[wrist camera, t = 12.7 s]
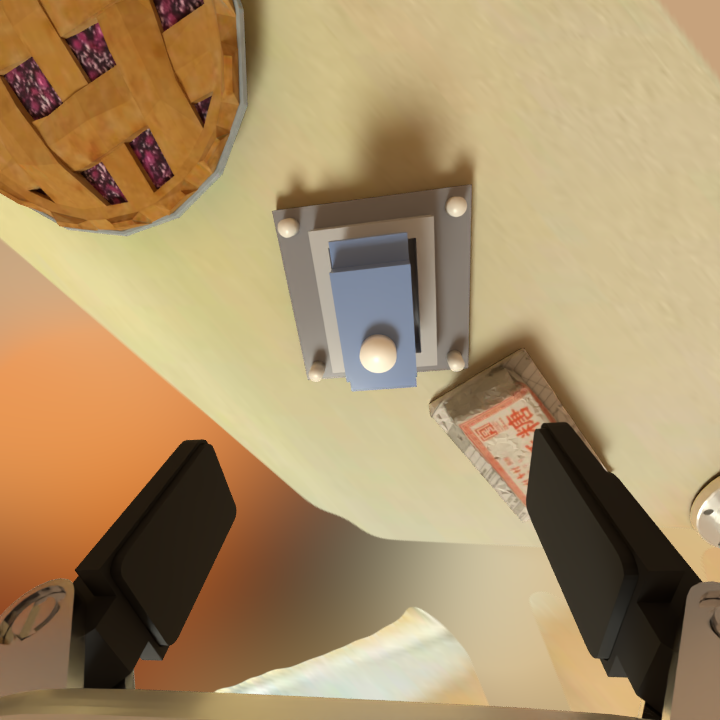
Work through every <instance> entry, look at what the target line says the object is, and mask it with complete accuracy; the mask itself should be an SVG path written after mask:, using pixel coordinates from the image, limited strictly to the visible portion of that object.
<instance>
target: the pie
mask: <svg viewBox="0 0 720 720" xmlns="http://www.w3.org/2000/svg"><path fill="white" fill-rule="evenodd" d="M247 106H248V103H247V79H246V55H245V31H244V9H243V6H242V3H241V0H0V193H1V194H3V195H4V196H6V197H8V198H10V199H11V200H13V201H15V202H16V203H18V204H21V205H24V206H26V207H29V208H31V209H33V210H34V211H36V212H38V213H40V214H41V215H43V216H45V217H47V218H48V219H50V220H52V221H54V222H55V223H57V224H58V225H59V226H62V227H64V228H66V229H68V230H75V231H84V232H93V233H102V234H111V235H120V236H128V235H131V234H134V233H137V232H140V231H143V230H145V229H148V228H151V227H154V226H157V225H159V224H162V223H165V222H168V221H171V220H174V219H176V218H179V217H180V216H181V215H182V214H183V213H184V212H185V211H186V210H187V209H188V208H189V207H190V206H191V205H192V204H193V203H194V202H195V201H196V200H197V199H198V198H199V197H200V196H201V195H202V194H203V193H204V192H205V191H206V190H207V189H208V188H209V187H210V186H211V185H212V184H213V183H214V182H215V181H216V180H217V179H218V178H219V177H220V176H221V175H222V174H223V171H224V168H225V166H226V163H227V160H228V157H229V155H230V152H231V149H232V147H233V144H234V141H235V138H236V136H237V133H238V130H239V128H240V125H241V122H242V119H243V117H244V114H245V111H246V108H247Z"/></svg>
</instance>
